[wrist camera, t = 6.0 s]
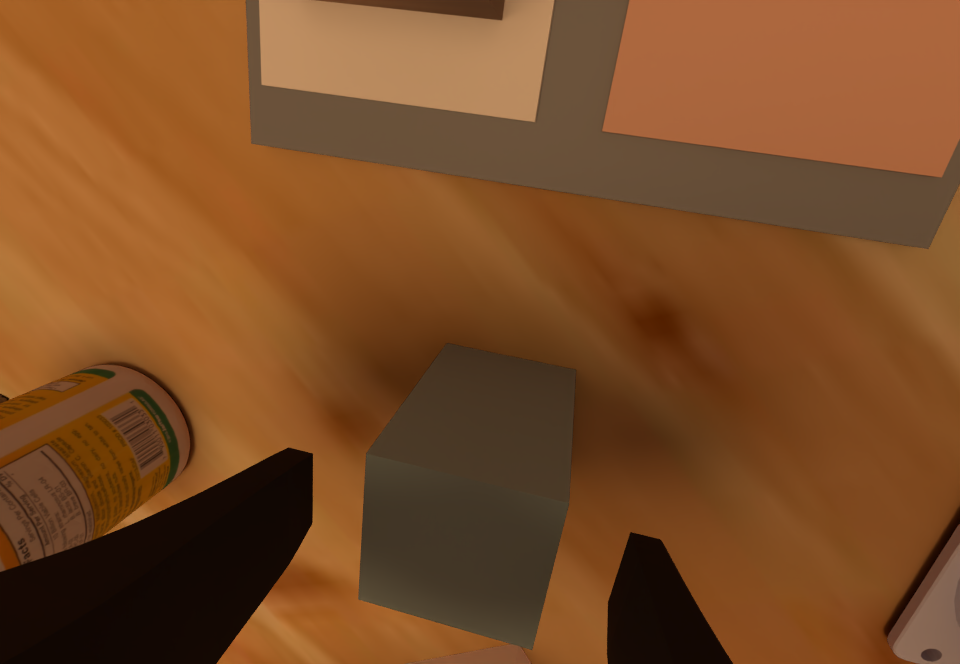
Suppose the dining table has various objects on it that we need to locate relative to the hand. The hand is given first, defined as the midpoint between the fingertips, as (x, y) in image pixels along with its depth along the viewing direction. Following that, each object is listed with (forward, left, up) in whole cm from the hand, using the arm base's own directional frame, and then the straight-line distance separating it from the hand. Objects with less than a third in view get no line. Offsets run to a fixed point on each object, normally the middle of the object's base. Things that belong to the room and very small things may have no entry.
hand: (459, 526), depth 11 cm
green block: (0, 0, -5) cm, 5 cm away
